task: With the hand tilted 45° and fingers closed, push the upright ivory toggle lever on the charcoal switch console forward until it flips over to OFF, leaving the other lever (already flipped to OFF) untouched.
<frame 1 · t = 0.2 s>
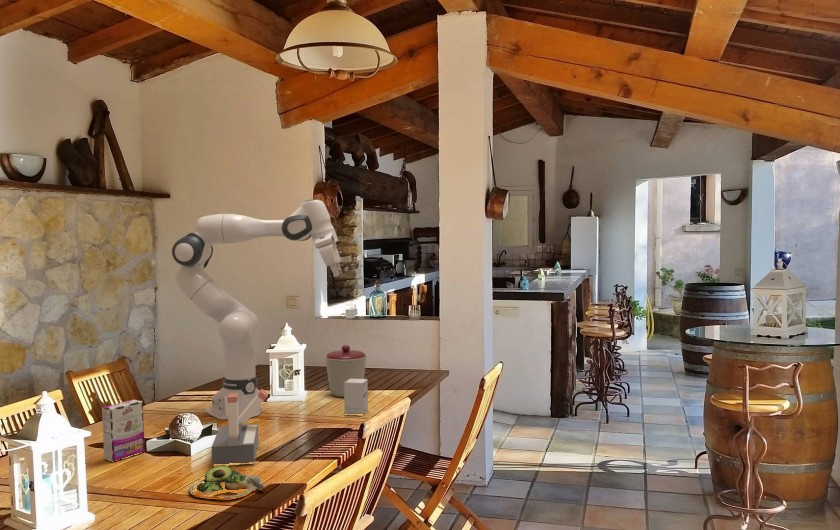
hand: (338, 275, 257), 52 cm above the table, tool tilted 20°, fingers open, 8 cm apart
lever 2: (250, 409, 220), point 12 cm above the table, hinge at 40.0°
canister: (346, 395, 290), on the table
supplement box: (356, 414, 260), on the table
salad plate: (225, 490, 184), on the table
lever 1: (233, 418, 205), point 13 cm above the table, hinge at 0.0°
console: (236, 454, 213), on the table
candy bar box: (124, 457, 211), on the table
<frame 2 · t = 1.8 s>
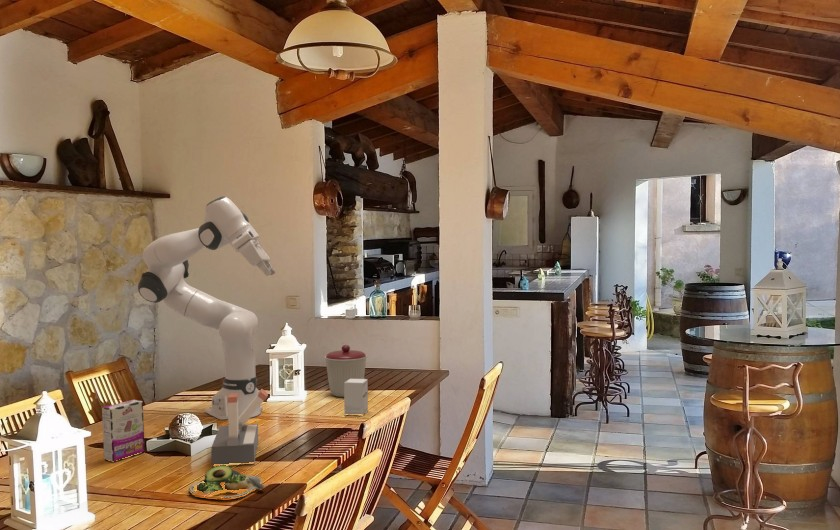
hand: (271, 274, 222), 55 cm above the table, tool tilted 35°, fingers open, 8 cm apart
nothing on the table moved.
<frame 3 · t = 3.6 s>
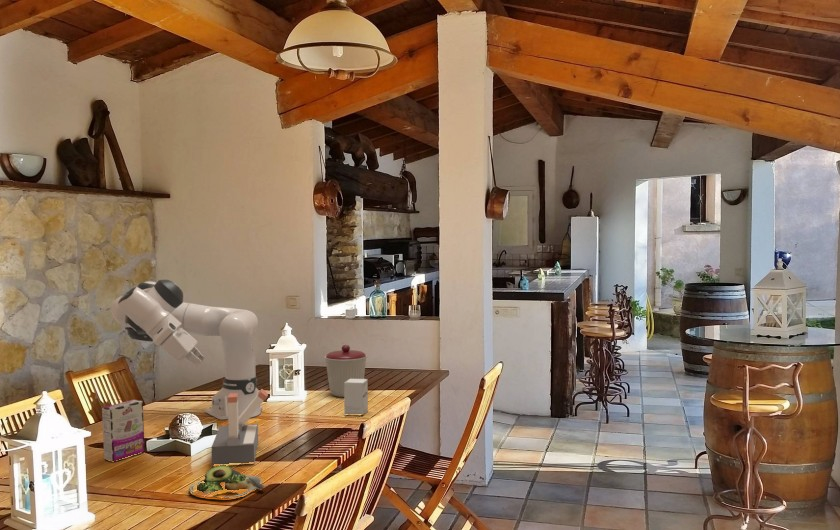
hand: (201, 361, 208), 29 cm above the table, tool tilted 45°, fingers open, 5 cm apart
nothing on the table moved.
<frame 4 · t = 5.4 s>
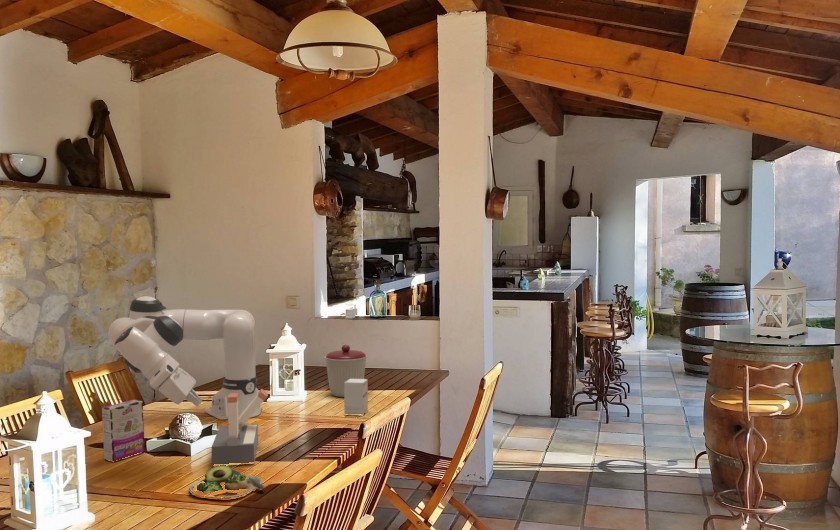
hand: (200, 403, 203), 18 cm above the table, tool tilted 45°, fingers closed
nothing on the table moved.
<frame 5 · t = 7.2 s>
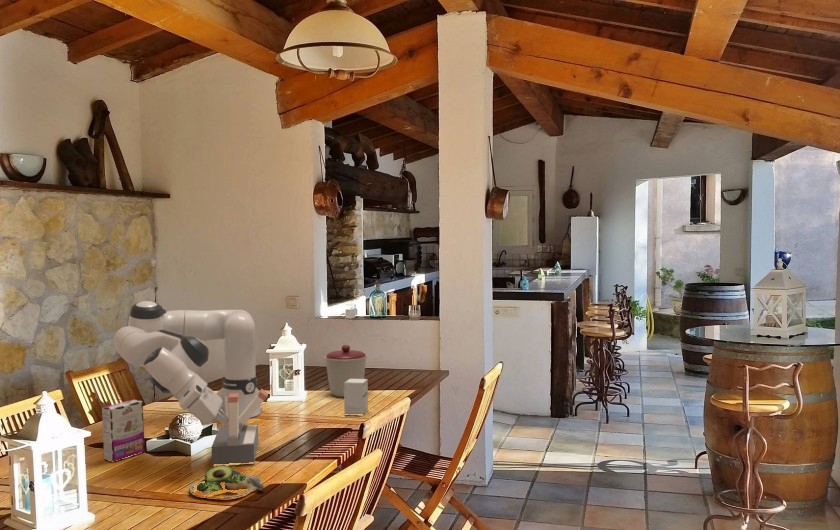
hand: (227, 422, 205), 12 cm above the table, tool tilted 45°, fingers closed, pressing on lever 1
lever 1: (233, 418, 205), point 13 cm above the table, hinge at 1.1°, touching gripper
everything else where it was.
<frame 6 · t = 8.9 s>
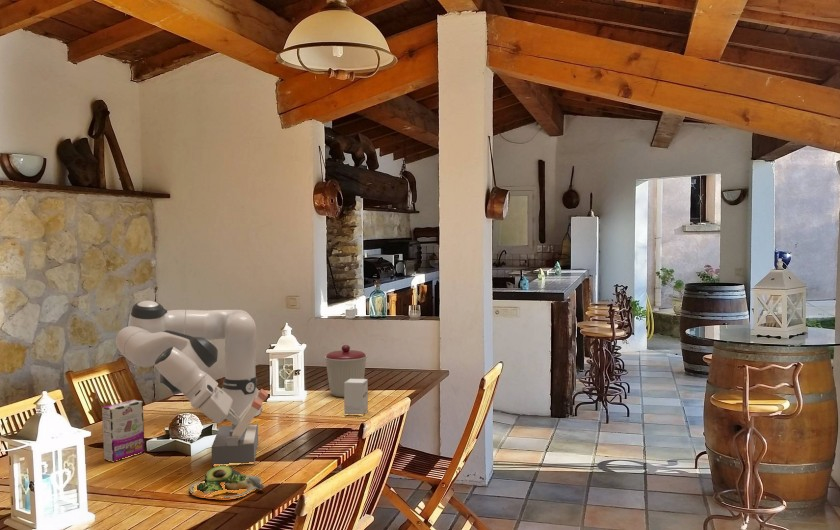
hand: (238, 422, 205), 12 cm above the table, tool tilted 45°, fingers closed
lever 1: (245, 421, 206), point 12 cm above the table, hinge at 34.1°
everything else where it was.
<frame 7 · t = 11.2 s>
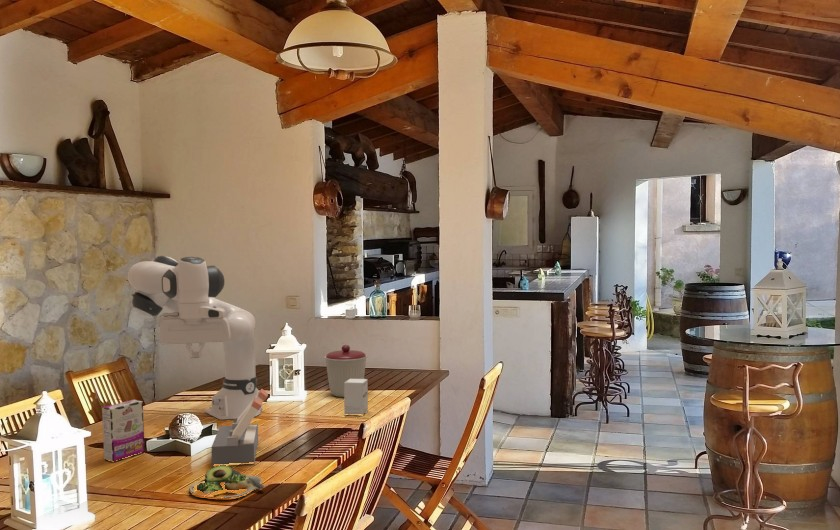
hand: (195, 357, 206), 31 cm above the table, tool pointing down, fingers closed
nothing on the table moved.
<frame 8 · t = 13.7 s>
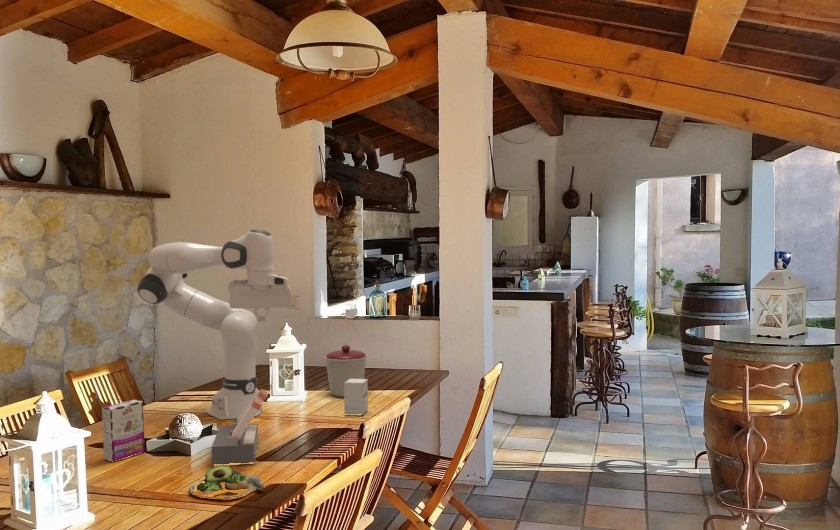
hand: (261, 321, 226), 39 cm above the table, tool pointing down, fingers closed
nothing on the table moved.
at the end: lever 1 at +34° (first picture: +0°); lever 2 at +40° (first picture: +40°) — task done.
